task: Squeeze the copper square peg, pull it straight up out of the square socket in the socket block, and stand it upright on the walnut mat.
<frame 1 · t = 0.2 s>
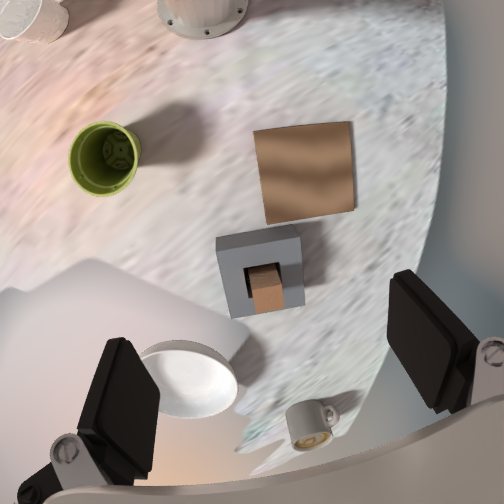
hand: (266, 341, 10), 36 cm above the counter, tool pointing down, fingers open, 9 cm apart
white cup: (52, 25, 29), on the counter
walnut mat: (306, 171, 44), on the counter
serving bowl: (185, 363, 59), on the counter
socket block: (259, 264, 50), on the counter
copper peg: (263, 280, 46), in the socket block
plant pot: (122, 150, 40), on the counter
coffee mug: (310, 407, 70), on the counter
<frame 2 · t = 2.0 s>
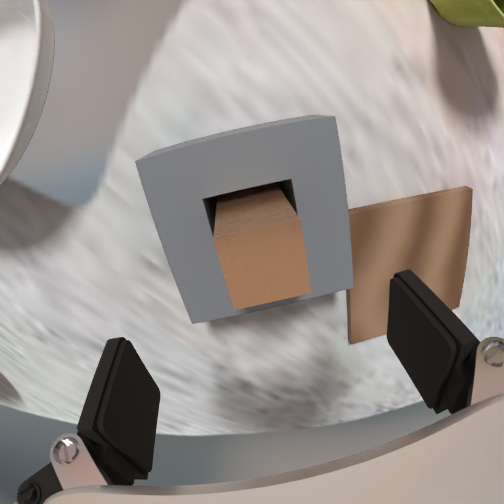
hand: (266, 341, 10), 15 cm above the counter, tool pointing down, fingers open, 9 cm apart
walnut mat: (410, 265, 27), on the counter
socket block: (250, 206, 24), on the counter
copper peg: (256, 229, 19), in the socket block
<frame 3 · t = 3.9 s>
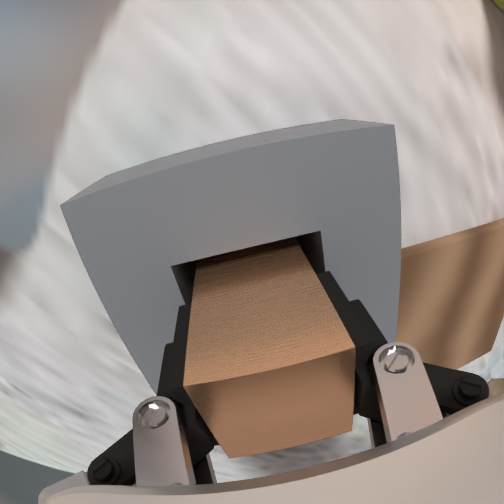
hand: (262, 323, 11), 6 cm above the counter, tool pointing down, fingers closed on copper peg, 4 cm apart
walnut mat: (448, 313, 20), on the counter
socket block: (249, 254, 16), on the counter
copper peg: (260, 310, 12), in the socket block, touching gripper
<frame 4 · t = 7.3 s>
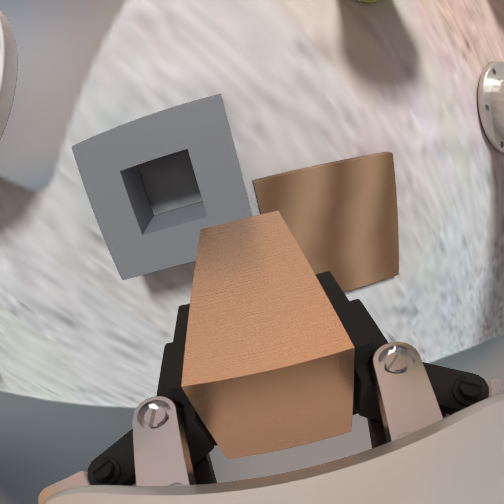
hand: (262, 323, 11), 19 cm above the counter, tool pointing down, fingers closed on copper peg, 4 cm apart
walnut mat: (334, 230, 31), on the counter
socket block: (171, 180, 27), on the counter
copper peg: (259, 310, 12), point 18 cm above the counter, touching gripper
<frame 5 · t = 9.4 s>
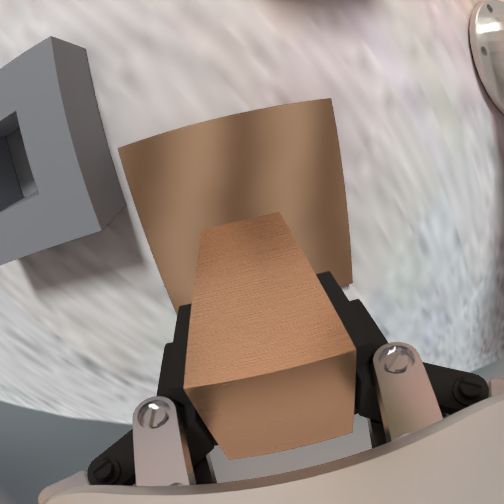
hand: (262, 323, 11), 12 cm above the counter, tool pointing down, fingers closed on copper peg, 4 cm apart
walnut mat: (246, 215, 22), on the counter
socket block: (36, 154, 18), on the counter
copper peg: (260, 311, 12), point 11 cm above the counter, touching gripper
when the fingers open (8 cm above the counter, at t = 10.9 s): copper peg stays where it is, resting on walnut mat.
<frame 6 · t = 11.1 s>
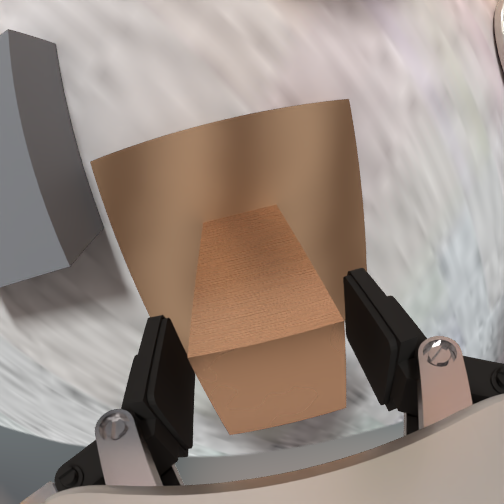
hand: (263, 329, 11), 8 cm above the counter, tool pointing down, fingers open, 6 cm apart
walnut mat: (245, 240, 18), on the counter
socket block: (4, 168, 14), on the counter
copper peg: (258, 296, 13), on the walnut mat, point 6 cm above the counter
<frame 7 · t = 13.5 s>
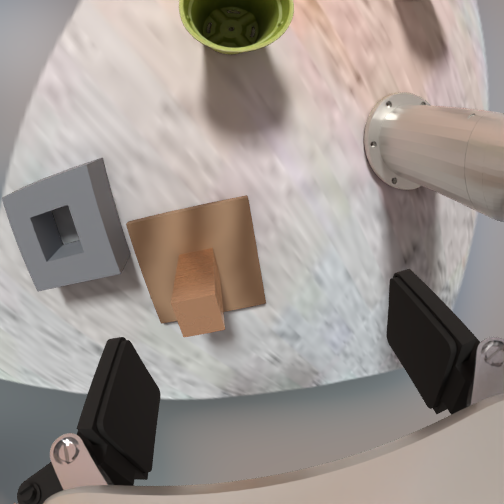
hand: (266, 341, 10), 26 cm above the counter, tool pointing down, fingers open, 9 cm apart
walnut mat: (199, 263, 37), on the counter
socket block: (73, 219, 32), on the counter
copper peg: (199, 288, 32), on the walnut mat, point 6 cm above the counter
plant pot: (229, 30, 26), on the counter
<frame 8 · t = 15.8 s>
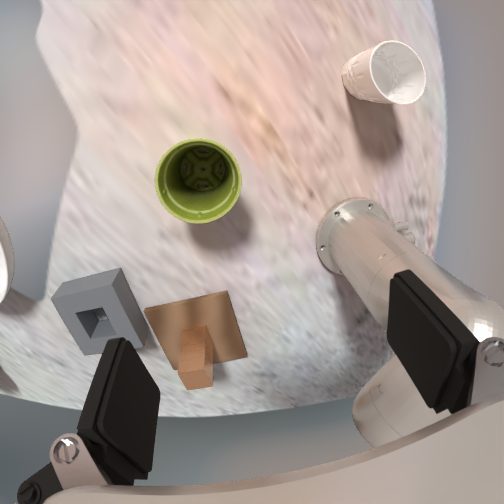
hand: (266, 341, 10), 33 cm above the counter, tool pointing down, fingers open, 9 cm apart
white cup: (362, 78, 36), on the counter
walnut mat: (197, 332, 51), on the counter
socket block: (104, 306, 47), on the counter
copper peg: (196, 356, 46), on the walnut mat, point 6 cm above the counter
plant pot: (202, 168, 40), on the counter
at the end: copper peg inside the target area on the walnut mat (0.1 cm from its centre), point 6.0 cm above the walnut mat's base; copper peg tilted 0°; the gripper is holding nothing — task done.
